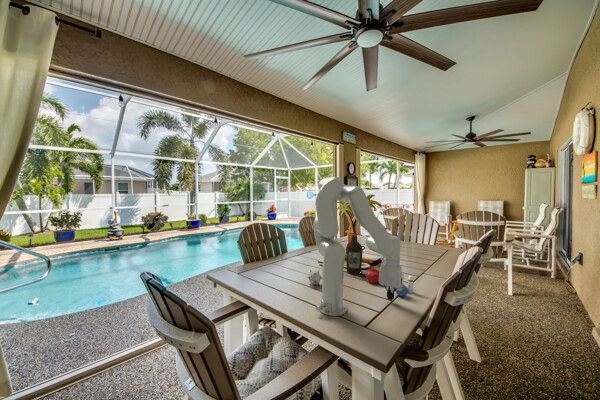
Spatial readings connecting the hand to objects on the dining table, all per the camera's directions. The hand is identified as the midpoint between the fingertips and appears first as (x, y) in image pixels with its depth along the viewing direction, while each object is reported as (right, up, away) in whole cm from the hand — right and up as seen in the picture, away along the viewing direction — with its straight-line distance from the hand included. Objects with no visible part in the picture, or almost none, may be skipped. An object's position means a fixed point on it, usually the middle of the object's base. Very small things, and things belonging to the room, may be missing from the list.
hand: (390, 299), depth 114 cm
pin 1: (+11, -1, +15) cm, 19 cm away
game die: (-35, -1, +21) cm, 41 cm away
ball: (+8, +2, +7) cm, 11 cm away
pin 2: (+15, -1, +11) cm, 19 cm away
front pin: (+11, 0, +11) cm, 16 cm away
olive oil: (-8, 0, +41) cm, 42 cm away
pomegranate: (0, -1, +26) cm, 26 cm away
